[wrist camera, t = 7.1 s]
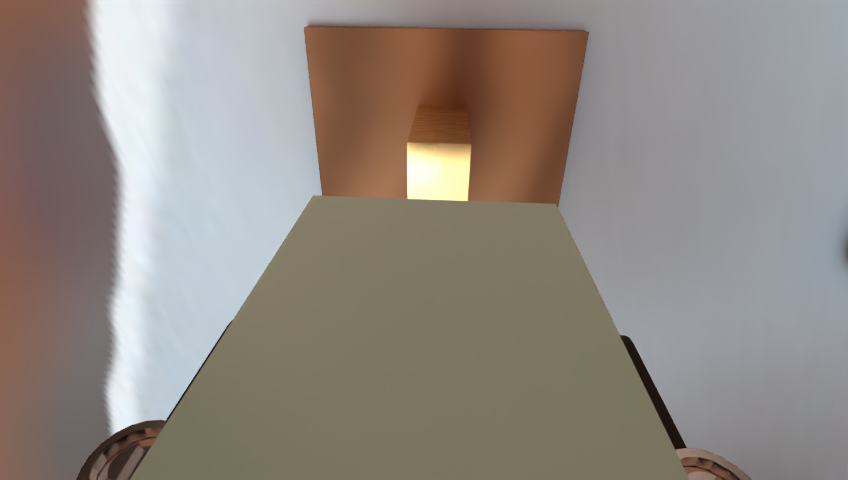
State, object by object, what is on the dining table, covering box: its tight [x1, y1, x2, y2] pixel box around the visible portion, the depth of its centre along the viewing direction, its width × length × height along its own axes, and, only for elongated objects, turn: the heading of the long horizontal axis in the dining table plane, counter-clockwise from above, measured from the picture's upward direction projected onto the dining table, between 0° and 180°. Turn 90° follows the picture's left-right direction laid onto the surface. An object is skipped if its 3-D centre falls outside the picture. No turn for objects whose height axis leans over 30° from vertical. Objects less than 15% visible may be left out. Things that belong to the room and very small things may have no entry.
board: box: [304, 26, 589, 207], centre depth 28 cm, size 14×22×1 cm, turn 179°
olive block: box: [130, 196, 690, 480], centre depth 8 cm, size 5×5×7 cm
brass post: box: [407, 106, 471, 201], centre depth 22 cm, size 3×3×6 cm
